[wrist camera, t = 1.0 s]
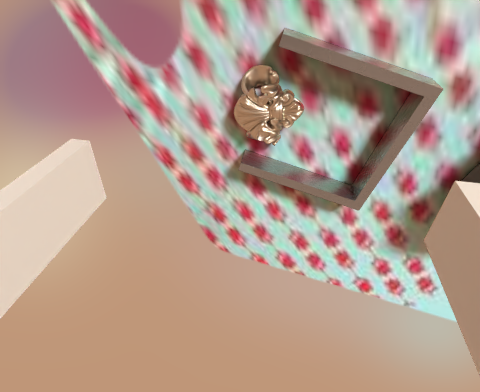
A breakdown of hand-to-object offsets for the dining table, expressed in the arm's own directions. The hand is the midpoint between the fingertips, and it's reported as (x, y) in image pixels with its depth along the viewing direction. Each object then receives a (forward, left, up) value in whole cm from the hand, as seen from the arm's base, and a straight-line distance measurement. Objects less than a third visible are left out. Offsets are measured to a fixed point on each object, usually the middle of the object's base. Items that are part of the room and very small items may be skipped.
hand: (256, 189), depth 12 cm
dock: (+7, +2, -22) cm, 23 cm away
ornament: (+4, -3, -22) cm, 23 cm away
